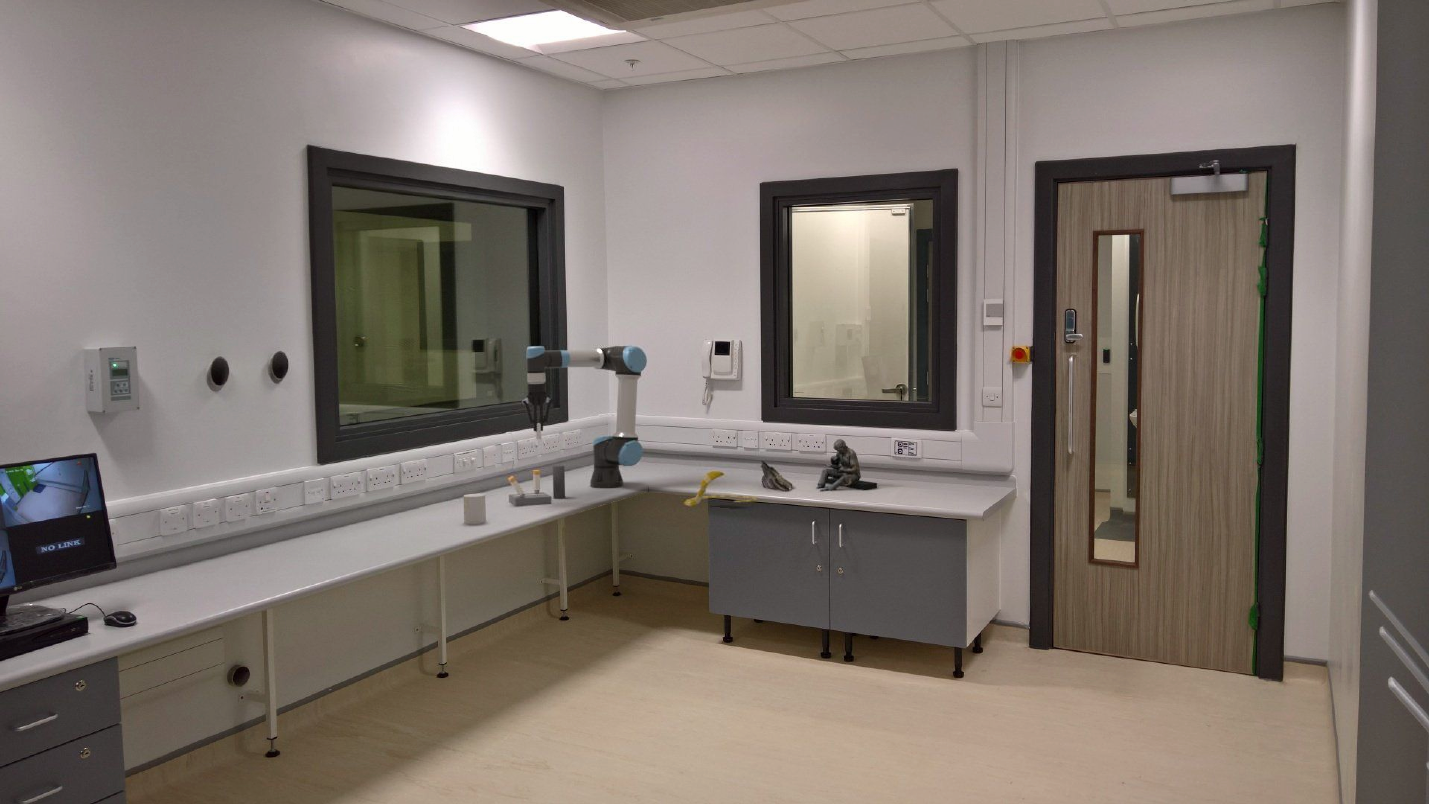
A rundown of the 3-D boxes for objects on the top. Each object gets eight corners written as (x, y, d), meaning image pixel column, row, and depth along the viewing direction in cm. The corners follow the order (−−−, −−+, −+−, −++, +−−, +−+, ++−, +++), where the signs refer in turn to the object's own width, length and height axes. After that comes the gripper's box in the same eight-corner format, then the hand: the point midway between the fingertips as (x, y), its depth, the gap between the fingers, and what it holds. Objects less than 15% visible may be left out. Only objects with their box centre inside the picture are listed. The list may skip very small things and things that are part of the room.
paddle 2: (538, 491, 432) (537, 469, 431) (540, 493, 428) (540, 471, 427) (533, 492, 431) (532, 470, 430) (535, 493, 427) (535, 471, 426)
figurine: (798, 491, 449) (798, 438, 448) (838, 486, 464) (838, 435, 462) (836, 498, 429) (836, 442, 428) (877, 493, 443) (877, 439, 442)
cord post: (563, 497, 438) (562, 465, 437) (566, 499, 433) (565, 466, 432) (552, 498, 436) (551, 466, 435) (555, 499, 431) (554, 467, 430)
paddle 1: (524, 494, 421) (511, 475, 419) (526, 495, 417) (513, 477, 415) (520, 497, 421) (507, 478, 418) (522, 498, 417) (509, 480, 414)
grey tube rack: (543, 499, 433) (543, 491, 433) (551, 503, 421) (551, 495, 421) (509, 501, 427) (508, 493, 427) (515, 506, 415) (515, 498, 415)
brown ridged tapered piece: (751, 455, 443) (764, 460, 470) (738, 471, 444) (753, 476, 470) (790, 484, 437) (802, 489, 463) (778, 501, 437) (790, 505, 464)
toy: (739, 511, 399) (739, 474, 398) (675, 508, 409) (675, 471, 408) (761, 500, 427) (761, 465, 426) (701, 497, 436) (701, 463, 435)
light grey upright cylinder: (466, 524, 391) (465, 494, 390) (487, 523, 391) (486, 493, 391) (462, 528, 383) (461, 497, 382) (484, 527, 383) (483, 496, 383)
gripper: (549, 382, 427) (551, 437, 429) (519, 383, 422) (521, 439, 423) (554, 382, 420) (556, 438, 422) (523, 384, 415) (525, 440, 416)
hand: (538, 438), depth 423 cm, fingers closed
